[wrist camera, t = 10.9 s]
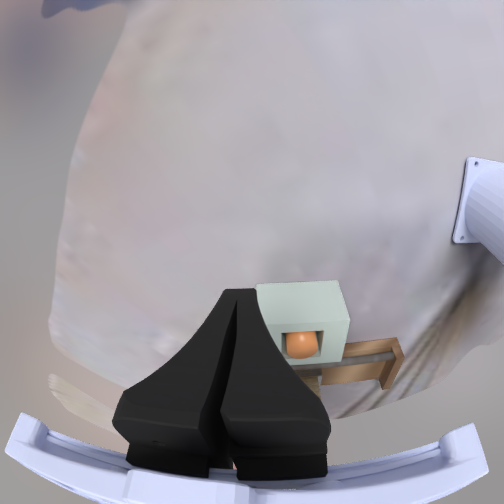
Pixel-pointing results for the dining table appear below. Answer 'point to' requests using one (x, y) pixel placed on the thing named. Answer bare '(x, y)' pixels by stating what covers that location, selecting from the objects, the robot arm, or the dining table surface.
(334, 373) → the rail deck
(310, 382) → the block
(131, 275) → the dining table surface
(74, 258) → the dining table surface
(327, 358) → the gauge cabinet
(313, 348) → the orange rounded peg
